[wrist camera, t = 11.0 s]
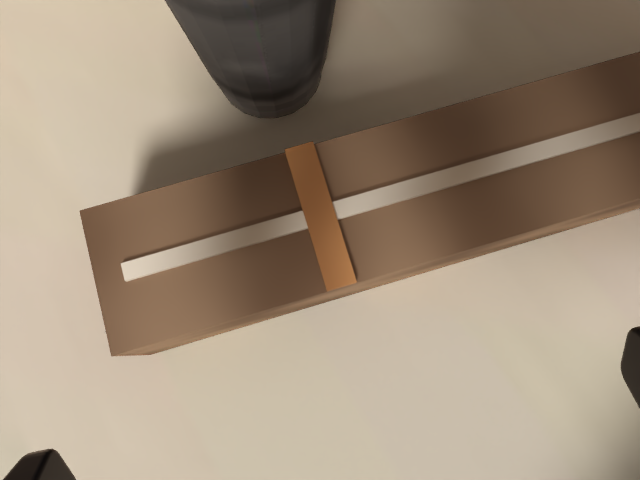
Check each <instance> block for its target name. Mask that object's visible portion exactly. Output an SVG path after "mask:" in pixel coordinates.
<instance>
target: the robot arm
mask: <svg viewBox="0 0 640 480" xmlns="http://www.w3.org/2000/svg"><path fill="white" fill-rule="evenodd" d="M621 372H622V375H623V378H624V380H625V382H626V384H627V386H628V388H629V390H630V391H631V393H632V395H633V397H634V399H635V401H636V403H637V404H638V406H639V408H640V326H639V327H634V328H632V329H631V330H630V331H629V332H628V334H627V338H626V343H625V347H624V351H623V356H622V360H621ZM3 480H76V479H75V477H74V475H73V474H72V472H71V471H70V469H69V468H68V466H67V465H66V463H65V462H64V460H63V459H62V457H61V456H60V454H59V453H58V452H57V451H56V450H54V449H46V450H41V451H37V452H32V453H28V454H26V455H25V456H23V457H22V458H21V459H20V460H19V461H18V463H17V464H16V465H15V466H14V467H13V468H12V470H11V471H10V472H9V473H8V474H7V475H6V477H5V478H4V479H3Z"/></svg>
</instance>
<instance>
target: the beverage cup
mask: <svg viewBox="0 0 640 480" xmlns="http://www.w3.org/2000/svg"><path fill="white" fill-rule="evenodd" d="M165 1H166V3H167V4H168V6H169V8H170V9H171V11H172V13H173V14H174V16H175V18H176V19H177V21H178V23H179V24H180V26H181V28H182V29H183V31H184V32H185V34H186V36H187V37H188V39H189V41H190V42H191V44H192V46H193V47H194V49H195V51H196V52H197V54H198V56H199V57H200V59H201V60H202V62H203V64H204V65H205V67H206V69H207V70H208V72H209V74H210V75H211V77H212V78H213V79H214V81H215V82H216V83H217V85H218V86H219V87H220V89H221V90H222V92H223V93H224V95H225V96H226V97H227V98H228V100H229V101H230V102H231V104H232V105H234V106H235V107H237V108H238V109H240V110H241V111H243V112H244V113H246V114H249V115H253V116H256V117H259V118H278V117H281V116H284V115H287V114H291V113H293V112H295V111H296V110H298V109H299V108H301V107H302V106H304V105H305V104H306V103H307V102H308V101H309V99H310V98H311V97H312V96H313V94H314V93H315V92H316V89H317V87H318V84H319V81H320V78H321V71H322V68H323V65H324V62H325V59H326V54H327V48H328V42H329V37H330V31H331V25H332V19H333V13H334V8H335V2H336V0H165Z"/></svg>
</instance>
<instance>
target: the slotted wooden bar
mask: <svg viewBox="0 0 640 480" xmlns="http://www.w3.org/2000/svg"><path fill="white" fill-rule="evenodd" d="M638 208H640V52H637V53H634V54H630V55H627V56H623V57H619V58H616V59H612V60H609V61H605V62H602V63H598V64H595V65H591V66H588V67H584V68H581V69H577V70H574V71H570V72H567V73H563V74H560V75H556V76H553V77H549V78H545V79H542V80H538V81H535V82H531V83H528V84H524V85H521V86H517V87H514V88H510V89H507V90H503V91H500V92H496V93H493V94H489V95H486V96H482V97H479V98H475V99H472V100H468V101H464V102H461V103H457V104H454V105H450V106H447V107H443V108H440V109H436V110H433V111H429V112H426V113H422V114H419V115H415V116H412V117H408V118H405V119H401V120H398V121H394V122H390V123H387V124H383V125H380V126H376V127H373V128H369V129H366V130H362V131H359V132H355V133H352V134H348V135H345V136H341V137H338V138H334V139H331V140H327V141H324V142H320V143H316V144H314V143H313V141H312V142H309V143H305V144H301V145H298V146H294V147H291V148H287V149H285V153H281V154H278V155H274V156H271V157H267V158H264V159H260V160H257V161H253V162H250V163H246V164H243V165H239V166H235V167H232V168H228V169H225V170H221V171H218V172H214V173H211V174H207V175H204V176H200V177H197V178H193V179H190V180H186V181H183V182H179V183H176V184H172V185H169V186H165V187H161V188H158V189H154V190H151V191H147V192H144V193H140V194H137V195H133V196H130V197H126V198H123V199H119V200H116V201H112V202H109V203H105V204H102V205H98V206H95V207H91V208H87V209H84V210H80V215H81V220H82V224H83V229H84V233H85V238H86V242H87V247H88V252H89V256H90V261H91V265H92V270H93V274H94V279H95V283H96V288H97V293H98V297H99V302H100V306H101V311H102V315H103V320H104V325H105V329H106V334H107V338H108V343H109V347H110V352H111V356H130V355H151V354H154V353H158V352H161V351H164V350H168V349H171V348H174V347H178V346H181V345H184V344H188V343H191V342H194V341H198V340H201V339H204V338H208V337H211V336H214V335H218V334H221V333H224V332H228V331H231V330H234V329H238V328H241V327H244V326H248V325H251V324H254V323H258V322H261V321H264V320H268V319H271V318H274V317H278V316H281V315H284V314H288V313H291V312H295V311H298V310H301V309H305V308H308V307H311V306H315V305H318V304H321V303H325V302H328V301H331V300H335V299H338V298H341V297H345V296H348V295H351V294H355V293H358V292H361V291H365V290H368V289H371V288H375V287H378V286H381V285H385V284H388V283H391V282H395V281H398V280H401V279H405V278H408V277H411V276H415V275H418V274H421V273H425V272H428V271H431V270H435V269H438V268H441V267H445V266H448V265H451V264H455V263H458V262H461V261H465V260H468V259H471V258H475V257H478V256H481V255H485V254H488V253H491V252H495V251H498V250H501V249H505V248H508V247H512V246H515V245H518V244H522V243H525V242H528V241H532V240H535V239H538V238H542V237H545V236H548V235H552V234H555V233H558V232H562V231H565V230H568V229H572V228H575V227H578V226H582V225H585V224H588V223H592V222H595V221H598V220H602V219H605V218H608V217H612V216H615V215H618V214H622V213H625V212H628V211H632V210H635V209H638Z"/></svg>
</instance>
